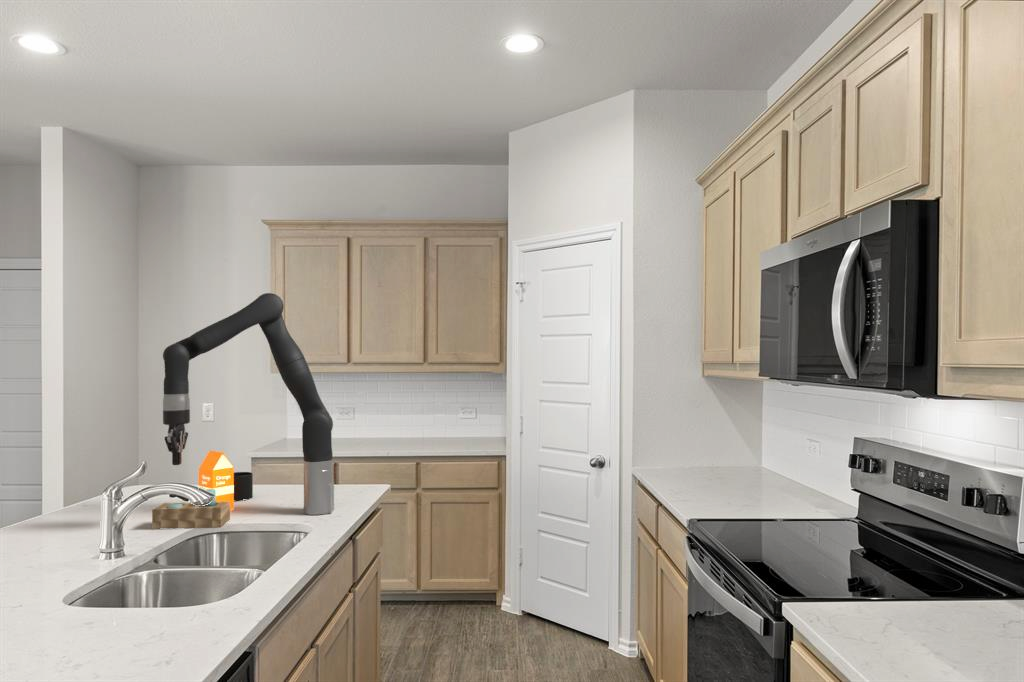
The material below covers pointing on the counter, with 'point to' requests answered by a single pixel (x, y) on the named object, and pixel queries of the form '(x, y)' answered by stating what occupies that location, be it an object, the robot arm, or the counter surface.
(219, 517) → the oak block
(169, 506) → the peg
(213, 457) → the orange juice
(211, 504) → the peg
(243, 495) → the black cylinder
